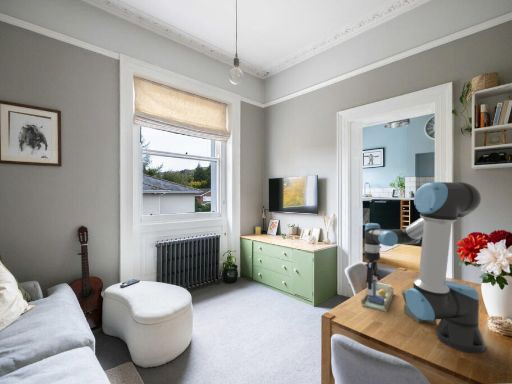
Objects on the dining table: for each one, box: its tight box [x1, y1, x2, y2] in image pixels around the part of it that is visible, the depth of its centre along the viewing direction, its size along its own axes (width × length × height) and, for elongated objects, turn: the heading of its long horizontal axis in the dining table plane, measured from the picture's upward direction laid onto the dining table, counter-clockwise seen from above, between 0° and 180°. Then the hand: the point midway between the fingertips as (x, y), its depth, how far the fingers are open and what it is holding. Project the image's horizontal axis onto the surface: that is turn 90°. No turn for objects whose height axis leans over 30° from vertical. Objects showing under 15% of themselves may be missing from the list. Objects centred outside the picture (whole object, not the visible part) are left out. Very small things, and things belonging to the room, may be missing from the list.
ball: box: [378, 289, 386, 297], centre depth 143 cm, size 4×4×4 cm
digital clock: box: [401, 289, 437, 325], centre depth 121 cm, size 16×9×11 cm, turn 1°
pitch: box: [360, 282, 394, 313], centre depth 141 cm, size 27×12×6 cm, turn 145°
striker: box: [368, 275, 384, 304], centre depth 136 cm, size 6×7×14 cm
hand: (372, 291), depth 137 cm, fingers open, 11 cm apart
